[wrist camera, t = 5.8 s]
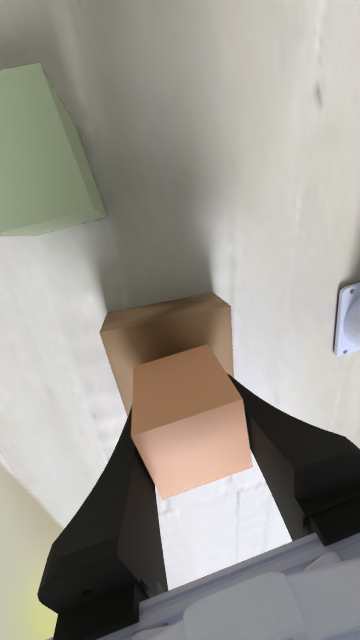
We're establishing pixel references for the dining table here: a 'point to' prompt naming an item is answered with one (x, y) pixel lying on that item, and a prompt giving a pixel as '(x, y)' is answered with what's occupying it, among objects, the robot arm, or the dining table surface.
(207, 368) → the terracotta cube
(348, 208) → the dining table surface
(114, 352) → the walnut block
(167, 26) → the dining table surface
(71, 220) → the green cube
